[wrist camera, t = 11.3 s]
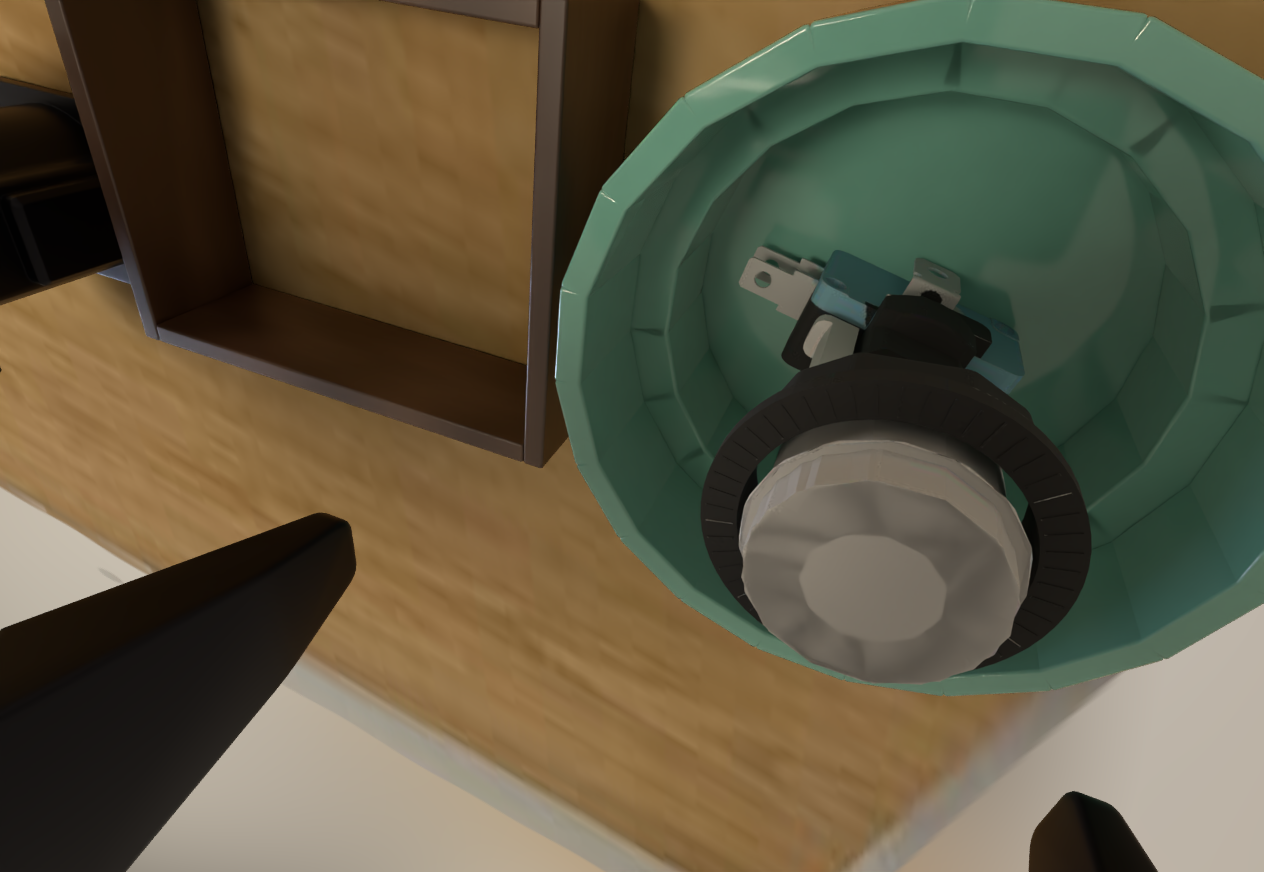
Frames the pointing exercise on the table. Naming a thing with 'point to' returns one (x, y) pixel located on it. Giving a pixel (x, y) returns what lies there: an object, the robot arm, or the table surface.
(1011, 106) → the teal wide round container
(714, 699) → the table surface
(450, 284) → the table surface
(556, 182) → the wooden box
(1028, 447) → the push button
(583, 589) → the table surface
